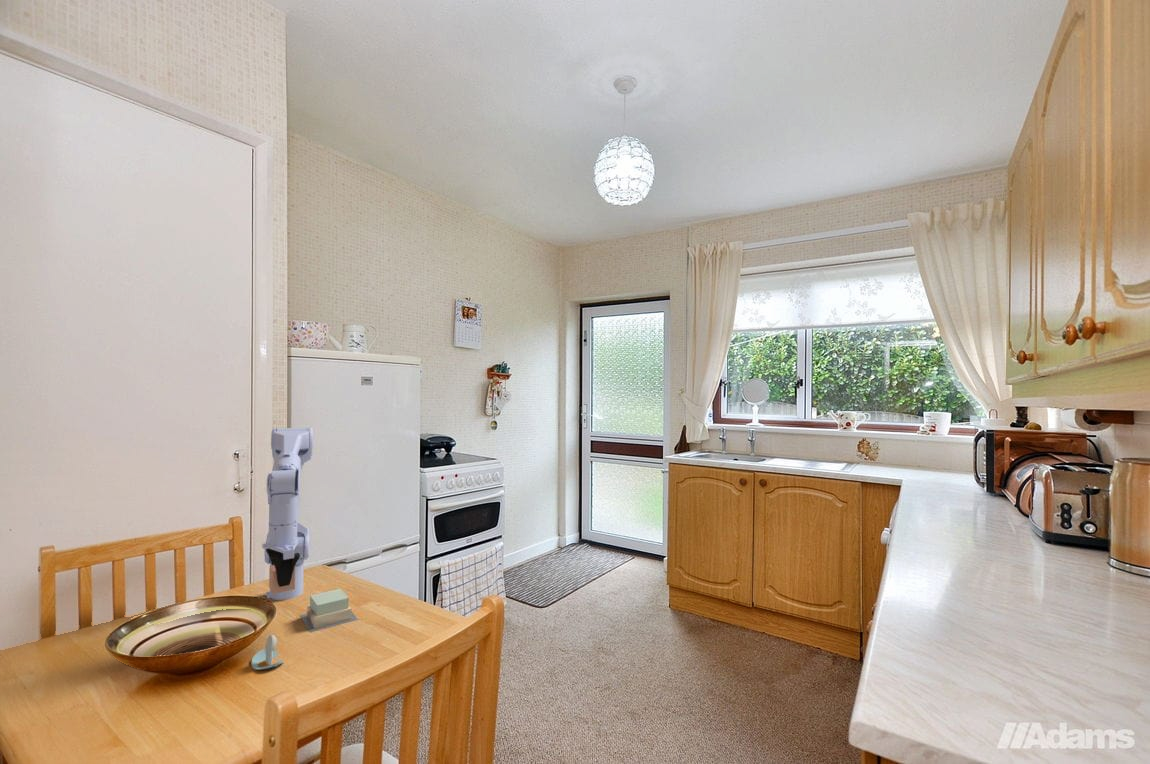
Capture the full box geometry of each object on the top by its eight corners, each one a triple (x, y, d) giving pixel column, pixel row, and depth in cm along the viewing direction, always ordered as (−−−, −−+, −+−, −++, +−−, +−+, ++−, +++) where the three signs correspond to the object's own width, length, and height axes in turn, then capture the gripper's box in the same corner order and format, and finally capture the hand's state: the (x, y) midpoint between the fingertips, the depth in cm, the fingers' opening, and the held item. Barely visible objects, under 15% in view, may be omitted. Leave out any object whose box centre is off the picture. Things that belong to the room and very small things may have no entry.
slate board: (299, 619, 119) (300, 615, 119) (345, 608, 125) (345, 604, 125) (310, 636, 111) (310, 632, 111) (358, 623, 117) (358, 619, 117)
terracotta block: (269, 587, 117) (269, 565, 117) (290, 583, 120) (291, 561, 120) (272, 593, 114) (272, 571, 114) (294, 589, 117) (295, 567, 117)
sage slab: (310, 605, 119) (310, 595, 119) (340, 598, 123) (340, 588, 123) (317, 616, 114) (317, 605, 114) (348, 608, 118) (348, 597, 118)
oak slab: (306, 615, 119) (307, 605, 119) (341, 607, 124) (341, 597, 124) (314, 628, 113) (315, 617, 113) (351, 618, 118) (351, 608, 118)
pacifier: (250, 685, 94) (286, 671, 98) (249, 651, 94) (285, 639, 98) (240, 669, 99) (275, 656, 103) (239, 637, 99) (274, 626, 103)
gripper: (258, 518, 120) (257, 576, 120) (268, 533, 109) (267, 597, 109) (291, 513, 125) (290, 569, 125) (305, 527, 113) (303, 589, 113)
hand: (282, 581), depth 117 cm, fingers closed on terracotta block, 4 cm apart
